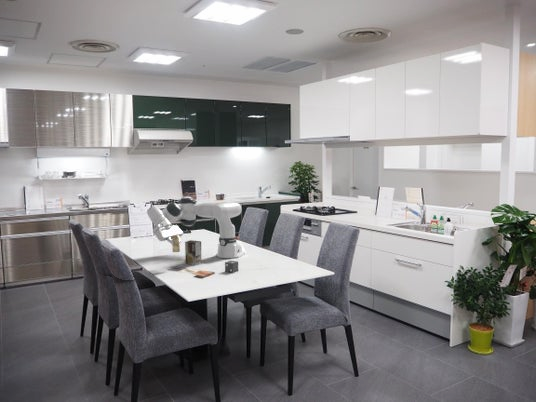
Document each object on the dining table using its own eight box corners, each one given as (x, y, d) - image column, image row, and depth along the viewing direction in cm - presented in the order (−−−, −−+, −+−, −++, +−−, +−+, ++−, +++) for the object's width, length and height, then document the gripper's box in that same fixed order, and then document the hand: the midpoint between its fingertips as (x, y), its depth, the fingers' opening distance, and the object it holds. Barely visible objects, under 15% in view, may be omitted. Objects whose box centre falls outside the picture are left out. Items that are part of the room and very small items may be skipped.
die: (230, 269, 290) (230, 260, 289) (238, 270, 287) (238, 261, 287) (225, 271, 285) (224, 262, 284) (233, 273, 282) (233, 263, 281)
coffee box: (202, 265, 302) (201, 241, 301) (195, 267, 297) (195, 242, 295) (191, 263, 307) (191, 239, 305) (185, 265, 301) (184, 241, 300)
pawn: (175, 250, 289) (175, 234, 288) (181, 251, 286) (180, 234, 285) (171, 251, 285) (170, 235, 284) (176, 252, 283) (176, 235, 282)
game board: (176, 267, 295) (176, 265, 294) (214, 273, 280) (214, 271, 280) (164, 271, 284) (164, 270, 284) (202, 278, 270) (202, 276, 270)
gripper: (172, 227, 299) (184, 243, 295) (150, 232, 281) (163, 249, 277) (177, 221, 296) (189, 237, 293) (156, 225, 278) (168, 242, 275)
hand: (176, 243), depth 285 cm, fingers closed on pawn, 4 cm apart
